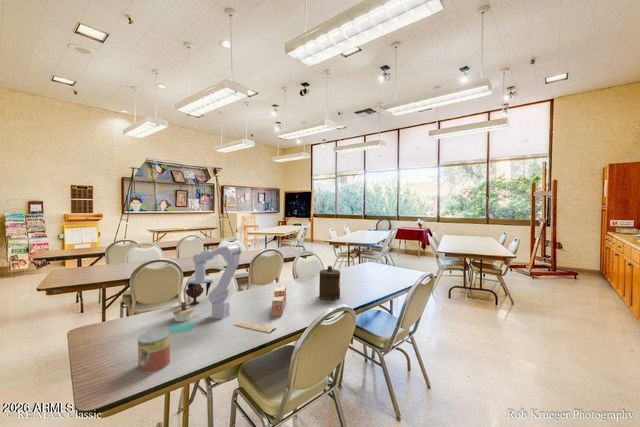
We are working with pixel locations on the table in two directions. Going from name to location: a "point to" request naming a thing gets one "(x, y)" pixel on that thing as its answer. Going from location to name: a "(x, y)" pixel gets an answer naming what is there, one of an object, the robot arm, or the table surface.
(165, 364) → the canned food
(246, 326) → the tan wooden plank
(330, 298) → the wooden container
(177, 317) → the bowl
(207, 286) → the robot arm
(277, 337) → the table surface
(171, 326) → the mat
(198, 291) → the ice cream bowl
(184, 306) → the cover
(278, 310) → the stack of blocks
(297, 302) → the table surface
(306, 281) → the table surface
